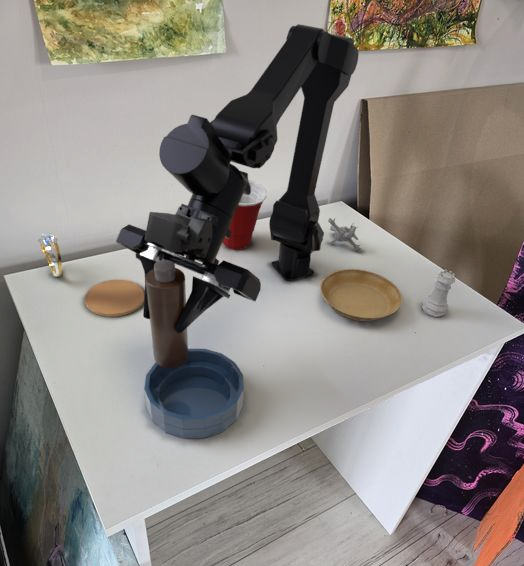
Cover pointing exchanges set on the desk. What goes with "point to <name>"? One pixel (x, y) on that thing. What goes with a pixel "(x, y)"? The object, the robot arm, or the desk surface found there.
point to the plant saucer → (360, 294)
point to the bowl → (195, 395)
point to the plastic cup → (245, 217)
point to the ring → (51, 253)
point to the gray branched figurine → (344, 234)
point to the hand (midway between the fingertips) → (161, 325)
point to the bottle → (167, 313)
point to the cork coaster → (114, 298)
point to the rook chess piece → (439, 295)
